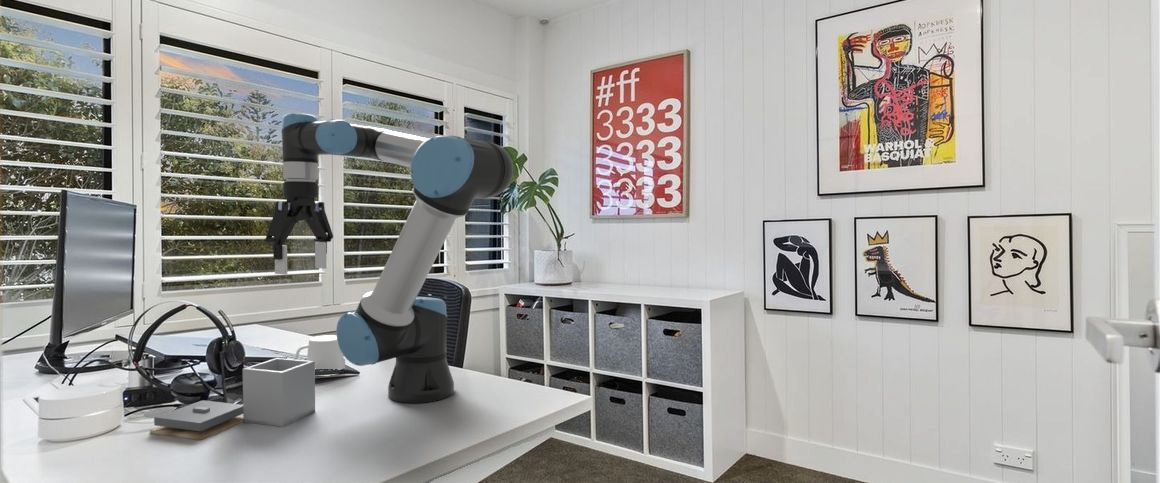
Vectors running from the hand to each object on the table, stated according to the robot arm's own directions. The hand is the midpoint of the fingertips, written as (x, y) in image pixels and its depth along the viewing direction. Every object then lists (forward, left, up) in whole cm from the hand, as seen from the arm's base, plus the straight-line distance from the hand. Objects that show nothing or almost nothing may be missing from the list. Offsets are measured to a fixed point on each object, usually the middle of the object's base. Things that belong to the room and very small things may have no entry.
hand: (301, 271), depth 146 cm
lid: (+3, +26, -28) cm, 38 cm away
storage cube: (-8, +17, -29) cm, 34 cm away
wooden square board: (+3, +26, -29) cm, 39 cm away
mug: (+6, -14, -29) cm, 33 cm away
